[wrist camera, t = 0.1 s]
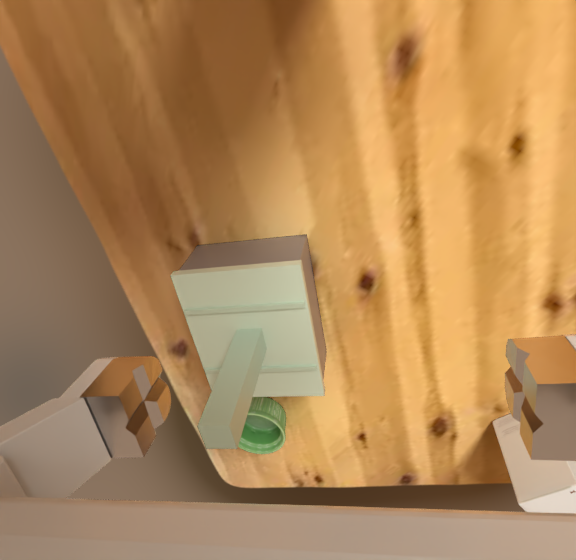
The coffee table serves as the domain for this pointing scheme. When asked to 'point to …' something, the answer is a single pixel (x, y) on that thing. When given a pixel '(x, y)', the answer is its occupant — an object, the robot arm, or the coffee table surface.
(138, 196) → the coffee table surface
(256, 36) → the coffee table surface
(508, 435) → the supplement box
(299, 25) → the coffee table surface
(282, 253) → the tub
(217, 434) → the grooved base with post
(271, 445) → the ramekin
